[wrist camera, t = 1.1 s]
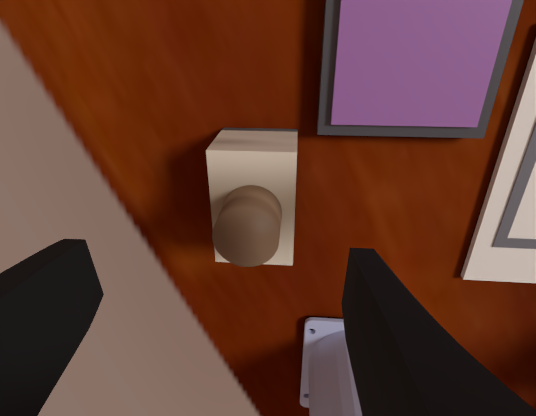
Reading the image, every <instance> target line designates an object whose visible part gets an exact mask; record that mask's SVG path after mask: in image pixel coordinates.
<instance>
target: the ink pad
mask: <svg viewBox="0 0 536 416" xmlns="http://www.w3.org/2000/svg"><path fill="white" fill-rule="evenodd" d="M523 1H524V0H325V6H324V22H323V38H322V54H321V70H320V86H319V101H318V117H317V135H347V136H395V137H443V138H484V136H485V132H486V129H487V125H488V122H489V118H490V115H491V112H492V108H493V105H494V101H495V98H496V94H497V91H498V87H499V84H500V80H501V77H502V74H503V70H504V67H505V63H506V60H507V56H508V53H509V49H510V46H511V42H512V39H513V36H514V32H515V29H516V25H517V22H518V18H519V15H520V11H521V8H522V4H523Z"/></svg>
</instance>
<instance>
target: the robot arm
mask: <svg viewBox="0 0 536 416" xmlns="http://www.w3.org/2000/svg"><path fill="white" fill-rule="evenodd" d="M102 297H103V291H102V288H101V285H100V282H99V279H98V276H97V273H96V270H95V267H94V264H93V261H92V258H91V255H90V252H89V249H88V246H87V243H86V240H81V239H63V240H61V241H58V242H56V243H54V244H52V245H50V246H48V247H47V248H45V249H43V250H41V251H39V252H37V253H35V254H34V255H32V256H30V257H28V258H27V259H25V260H23V261H21V262H20V263H18V264H16V265H14V266H13V267H11V268H9V269H7V270H5V271H4V272H2V273H1V274H0V416H37V415H38V414H39V412H40V410H41V408H42V407H43V405H44V403H45V401H46V400H47V398H48V397H49V395H50V393H51V392H52V390H53V388H54V387H55V385H56V383H57V382H58V380H59V378H60V377H61V375H62V373H63V372H64V370H65V368H66V367H67V365H68V363H69V362H70V360H71V358H72V357H73V355H74V353H75V352H76V350H77V348H78V346H79V345H80V343H81V341H82V340H83V338H84V336H85V335H86V333H87V331H88V329H89V328H90V325H91V323H92V321H93V318H94V316H95V314H96V312H97V309H98V307H99V304H100V302H101V300H102ZM342 312H343V319H334V318H318V317H309V318H307V319H306V320H305V326H304V342H303V358H302V373H301V389H300V405H301V406H303V407H307V408H309V416H536V410H535V409H534V408H533V407H531V406H530V405H529V404H527V403H526V402H525V401H524V400H522V399H521V398H520V397H519V396H518V395H516V394H515V393H514V392H513V391H512V390H510V389H509V388H508V387H507V386H506V385H504V384H503V383H502V382H501V381H500V380H499V379H498V378H496V377H495V376H494V375H493V374H492V373H491V372H490V371H488V370H487V369H486V368H485V367H484V366H483V365H482V364H480V363H479V362H478V361H477V360H476V359H475V358H474V357H473V356H471V355H470V354H469V353H468V352H467V351H466V350H465V349H464V348H463V347H462V346H461V345H460V344H459V343H458V342H457V341H456V340H455V339H454V338H453V337H452V336H451V335H450V334H449V333H448V332H447V331H446V330H445V329H444V328H443V327H442V326H441V325H440V324H439V323H438V322H437V321H436V320H435V319H434V318H433V317H432V316H431V315H430V314H429V313H428V312H427V310H426V309H425V308H424V307H423V306H422V305H421V304H420V303H419V302H418V300H417V299H416V298H415V297H414V296H413V295H412V294H411V293H410V292H409V290H408V289H407V288H406V287H405V286H404V285H403V283H402V282H401V281H400V280H399V279H398V277H397V276H396V275H395V274H394V273H393V271H392V270H391V269H390V268H389V267H388V265H387V264H386V263H385V262H384V261H383V259H382V258H381V257H380V256H379V254H378V253H377V252H376V251H375V250H374V249H366V248H350V252H349V258H348V265H347V272H346V278H345V285H344V292H343V298H342ZM310 329H314V330H310Z"/></svg>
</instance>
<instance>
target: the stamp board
mask: <svg viewBox="0 0 536 416" xmlns="http://www.w3.org/2000/svg"><path fill="white" fill-rule="evenodd" d="M461 277H462V279H463V280H483V281H503V282H523V283H536V38H535V41H534V45H533V48H532V51H531V54H530V57H529V60H528V64H527V67H526V70H525V73H524V76H523V79H522V83H521V86H520V89H519V92H518V95H517V98H516V102H515V105H514V108H513V111H512V114H511V117H510V120H509V124H508V127H507V130H506V133H505V136H504V139H503V143H502V146H501V149H500V152H499V155H498V158H497V162H496V165H495V168H494V171H493V174H492V177H491V181H490V184H489V187H488V190H487V193H486V196H485V199H484V203H483V206H482V209H481V212H480V215H479V218H478V222H477V225H476V228H475V231H474V234H473V237H472V241H471V244H470V247H469V250H468V253H467V256H466V260H465V263H464V266H463V269H462V272H461Z"/></svg>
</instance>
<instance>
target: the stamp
mask: <svg viewBox="0 0 536 416" xmlns="http://www.w3.org/2000/svg"><path fill="white" fill-rule="evenodd" d="M297 136H298V129H265V128H223V129H222V130H221V131H220V133H219V134H218V135H217V137H216V138H215V139H214V140H213V142H212V143H211V144H210V145H209V147H208V148H207V149H206V158H207V170H208V181H209V192H210V204H211V215H212V227H213V231H212V240H213V244H214V249H215V261H216V262H230V263H233V264H235V265H239V266H244V267H252V266H258V265H261V264H273V265H293V246H294V219H295V193H296V167H297Z"/></svg>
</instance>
